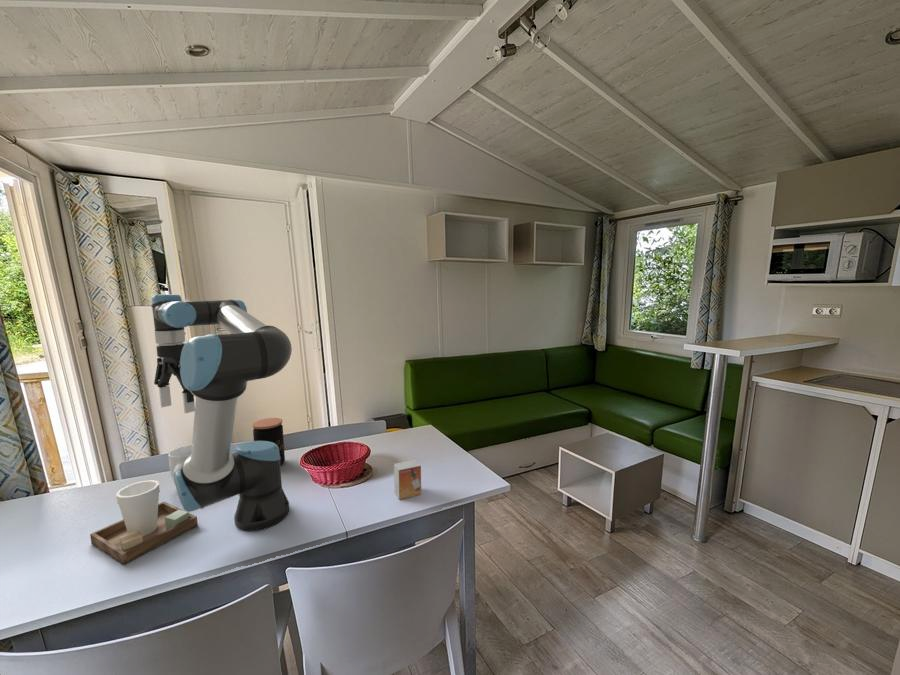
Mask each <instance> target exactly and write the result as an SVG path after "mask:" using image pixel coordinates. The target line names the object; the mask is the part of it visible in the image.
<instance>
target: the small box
mask: <svg viewBox="0 0 900 675" xmlns="http://www.w3.org/2000/svg"><path fill="white" fill-rule="evenodd" d="M393 468H394V469H393V472H394V473H393V474H394V478H393V479H394V480H393V481H394V482H393V483H394V493H395V495H396V497H397V498H398V500H404V499H407V498H411V497H417V496H421V495H422V466H421V464H420V463H419V461H417V459H413V460H408V461H402V462H396V463H393Z"/></svg>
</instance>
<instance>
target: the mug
mask: <svg viewBox="0 0 900 675" xmlns="http://www.w3.org/2000/svg"><path fill="white" fill-rule="evenodd" d="M191 451H192V444H188V445H183V446H179V447H177V448H174V449H172V450H171V451H170V452H169V453H168V455H167V457H168V466H169V472H170V475H171V476H170V477H171V478H172V480H173V484H174V486H175V487H176V484H175V480H174V472H175V471H177V470H179V469H181V468H182V469H183V466H184V463H185V461H186V459H187V458H188V457H189V456H190V455H191Z"/></svg>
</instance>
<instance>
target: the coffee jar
mask: <svg viewBox="0 0 900 675" xmlns="http://www.w3.org/2000/svg"><path fill="white" fill-rule="evenodd" d="M282 423H283V418H280V417H268V418H262V419H258V420H256V421H255V422H253V423H252V427H253V430H252V436H253V441H269V442H273V443H275V444H276V445H277V446H278V447H279V454H280V457H281V459H280V465H281V467H283V465H284V463H285V462H286V459H285V458H286V456H285V444H284V443H285V441H284V440H285V438H284V427H283V424H282Z"/></svg>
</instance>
